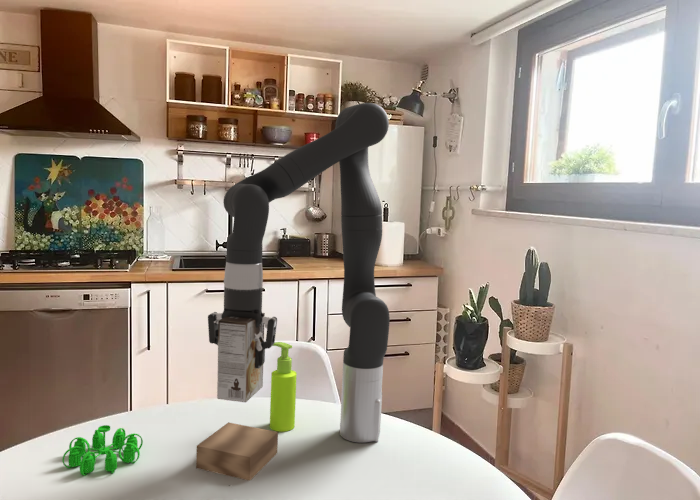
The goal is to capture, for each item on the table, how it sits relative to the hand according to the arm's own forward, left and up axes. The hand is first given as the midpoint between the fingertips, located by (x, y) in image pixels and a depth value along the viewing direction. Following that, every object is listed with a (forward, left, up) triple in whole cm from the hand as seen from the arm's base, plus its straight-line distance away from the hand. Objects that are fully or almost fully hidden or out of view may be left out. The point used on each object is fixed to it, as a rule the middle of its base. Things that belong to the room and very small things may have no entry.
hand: (241, 365), depth 108 cm
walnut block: (0, 0, -21) cm, 21 cm away
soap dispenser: (-4, -18, -20) cm, 27 cm away
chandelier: (+26, +6, -21) cm, 34 cm away
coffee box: (0, 0, -6) cm, 6 cm away
